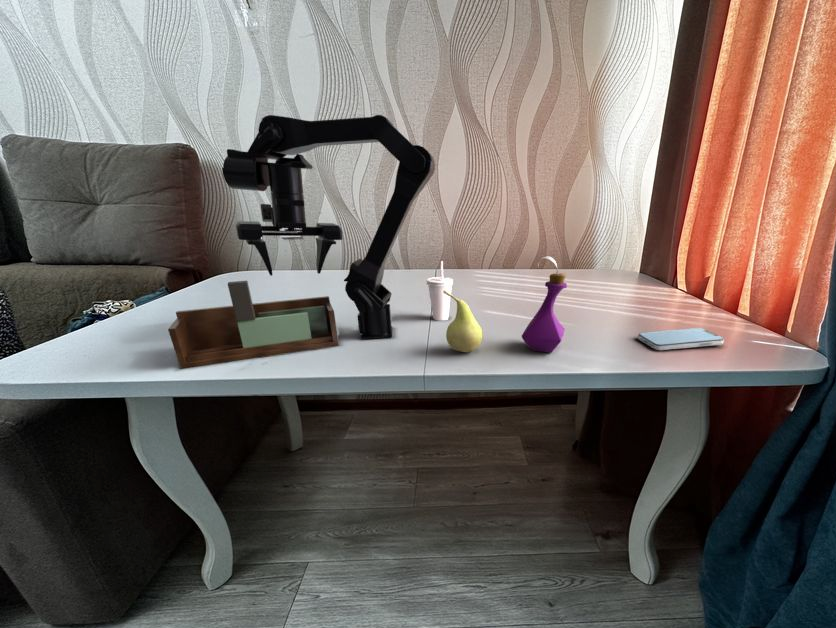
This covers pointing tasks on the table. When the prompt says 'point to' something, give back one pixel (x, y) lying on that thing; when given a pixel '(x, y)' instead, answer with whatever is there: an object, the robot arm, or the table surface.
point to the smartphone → (680, 339)
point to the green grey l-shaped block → (265, 321)
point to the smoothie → (440, 295)
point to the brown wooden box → (220, 338)
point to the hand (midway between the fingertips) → (295, 274)
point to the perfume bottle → (546, 318)
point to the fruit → (463, 329)
